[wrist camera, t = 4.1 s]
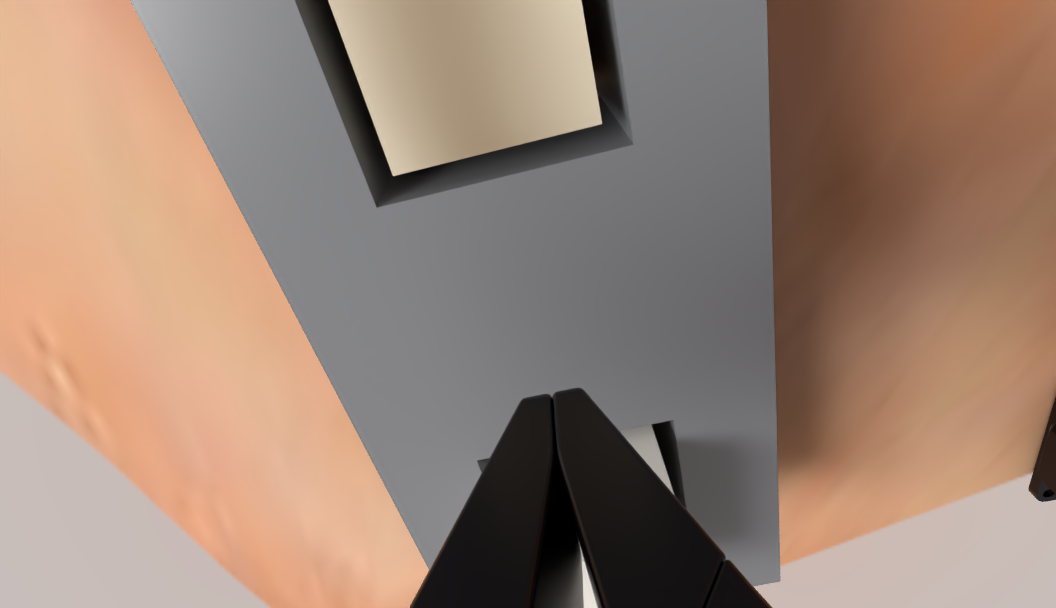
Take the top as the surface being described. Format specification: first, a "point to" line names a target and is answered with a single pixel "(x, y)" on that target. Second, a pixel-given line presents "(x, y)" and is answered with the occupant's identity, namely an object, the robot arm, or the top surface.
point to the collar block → (518, 250)
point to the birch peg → (468, 74)
